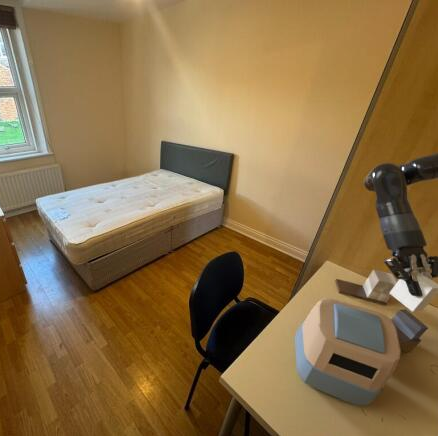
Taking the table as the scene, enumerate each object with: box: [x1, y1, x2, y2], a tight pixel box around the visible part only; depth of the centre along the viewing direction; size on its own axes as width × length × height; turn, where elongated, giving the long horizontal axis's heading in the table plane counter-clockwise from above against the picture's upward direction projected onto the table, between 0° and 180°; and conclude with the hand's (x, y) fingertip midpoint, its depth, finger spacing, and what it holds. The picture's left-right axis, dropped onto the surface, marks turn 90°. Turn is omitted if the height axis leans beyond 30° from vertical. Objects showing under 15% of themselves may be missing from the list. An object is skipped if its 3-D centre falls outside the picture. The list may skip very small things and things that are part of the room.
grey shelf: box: [390, 308, 429, 354], centre depth 72 cm, size 18×7×12 cm, turn 94°
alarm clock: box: [294, 297, 402, 406], centre depth 62 cm, size 17×17×23 cm
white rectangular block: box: [390, 271, 438, 313], centre depth 63 cm, size 3×6×9 cm, turn 4°
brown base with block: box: [334, 269, 398, 306], centre depth 90 cm, size 14×7×10 cm, turn 64°
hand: (423, 295), depth 61 cm, fingers closed on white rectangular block, 3 cm apart
